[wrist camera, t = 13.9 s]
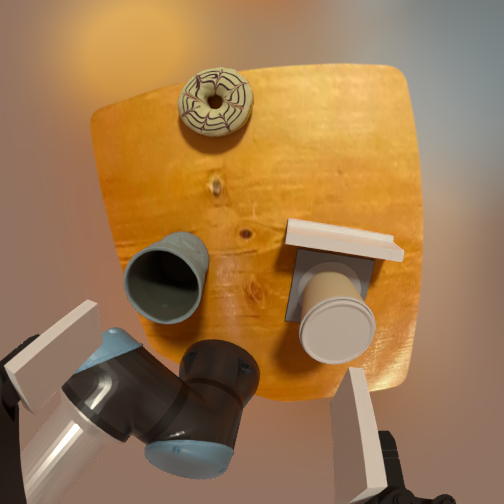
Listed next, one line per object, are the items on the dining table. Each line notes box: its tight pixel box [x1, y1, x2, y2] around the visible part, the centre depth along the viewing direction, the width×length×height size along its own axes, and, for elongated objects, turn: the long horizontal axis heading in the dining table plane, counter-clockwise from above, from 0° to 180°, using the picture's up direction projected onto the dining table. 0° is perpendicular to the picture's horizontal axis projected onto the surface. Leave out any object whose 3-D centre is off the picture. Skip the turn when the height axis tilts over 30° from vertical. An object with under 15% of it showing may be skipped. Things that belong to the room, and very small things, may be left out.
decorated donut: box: [178, 67, 254, 137], centre depth 35 cm, size 10×11×4 cm
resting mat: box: [285, 248, 375, 323], centre depth 42 cm, size 12×12×1 cm
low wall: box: [285, 218, 405, 262], centre depth 37 cm, size 3×16×6 cm, turn 83°
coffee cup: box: [299, 270, 376, 364], centre depth 36 cm, size 9×9×12 cm
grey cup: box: [124, 232, 209, 324], centre depth 38 cm, size 10×10×12 cm
